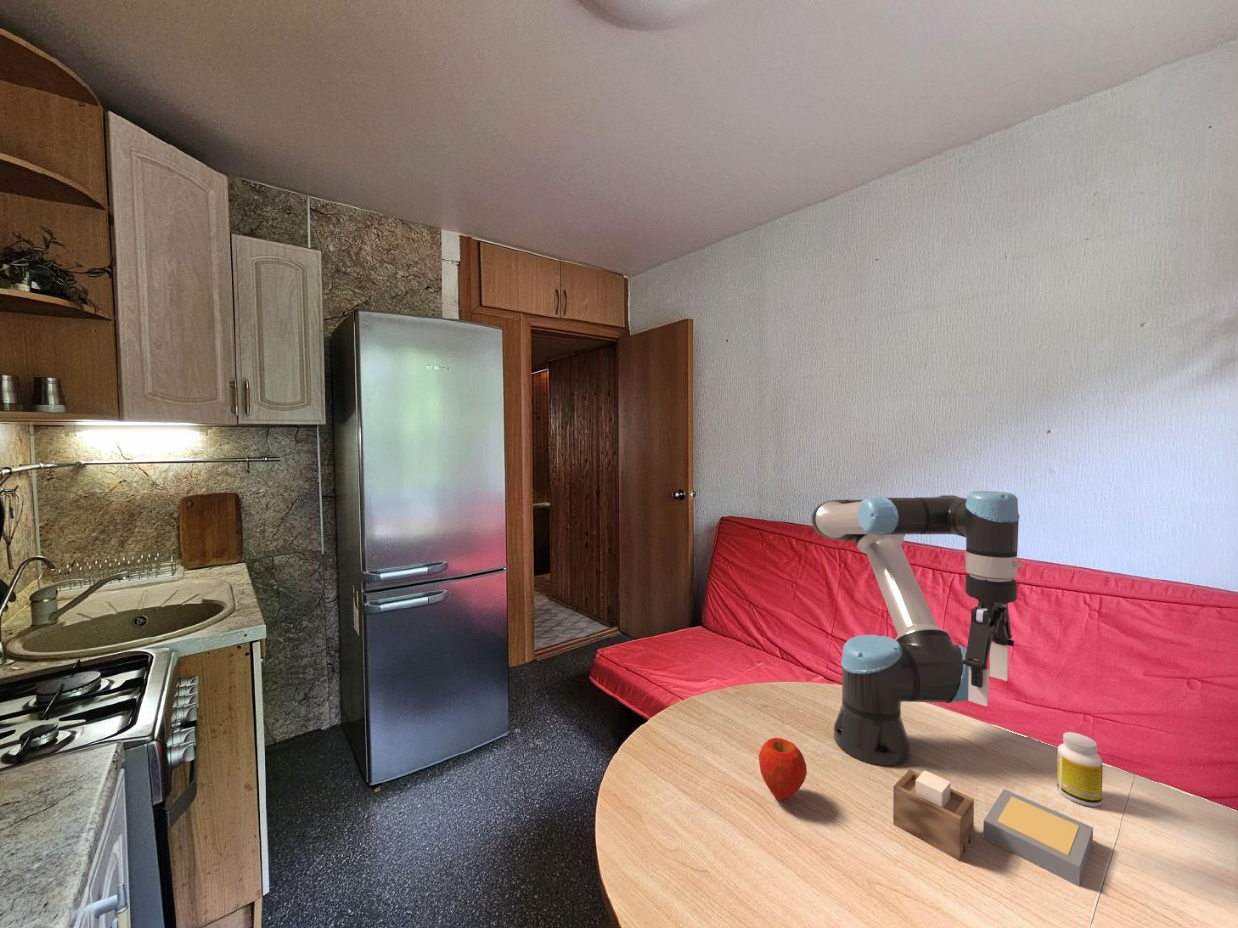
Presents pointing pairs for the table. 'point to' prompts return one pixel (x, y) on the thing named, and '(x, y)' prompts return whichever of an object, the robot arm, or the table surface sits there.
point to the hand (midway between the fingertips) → (988, 689)
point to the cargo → (933, 788)
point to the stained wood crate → (934, 817)
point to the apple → (782, 768)
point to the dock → (1040, 835)
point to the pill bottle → (1079, 770)
